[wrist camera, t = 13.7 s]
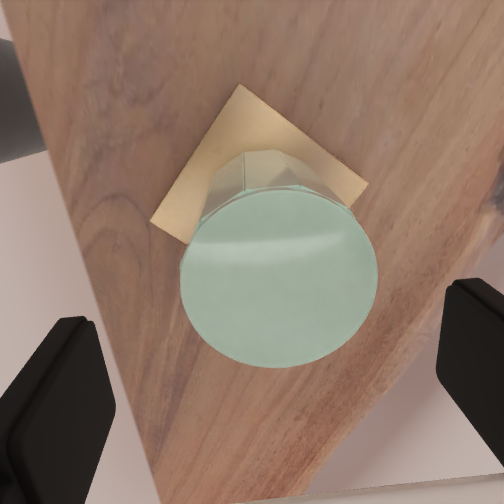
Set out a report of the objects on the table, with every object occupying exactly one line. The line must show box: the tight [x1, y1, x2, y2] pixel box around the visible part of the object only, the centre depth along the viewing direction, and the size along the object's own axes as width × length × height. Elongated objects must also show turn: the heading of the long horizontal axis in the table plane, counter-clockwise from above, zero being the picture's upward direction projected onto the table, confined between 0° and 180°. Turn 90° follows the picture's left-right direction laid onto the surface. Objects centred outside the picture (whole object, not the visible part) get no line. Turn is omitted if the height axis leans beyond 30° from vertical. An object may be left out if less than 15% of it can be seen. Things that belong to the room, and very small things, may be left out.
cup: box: [179, 149, 378, 368], centre depth 18 cm, size 7×7×10 cm
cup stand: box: [150, 83, 369, 245], centre depth 20 cm, size 10×10×13 cm
